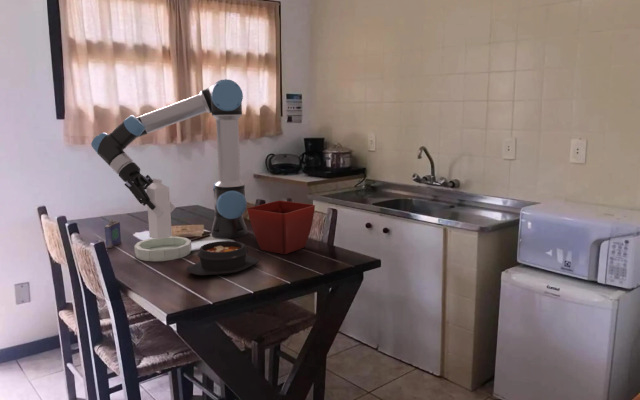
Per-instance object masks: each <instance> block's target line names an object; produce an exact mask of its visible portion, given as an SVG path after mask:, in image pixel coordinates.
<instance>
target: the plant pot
mask: <svg viewBox="0 0 640 400" xmlns="http://www.w3.org/2000/svg"><path fill="white" fill-rule="evenodd" d="M246 209H247V213H248V217H249V222H250V225H251V229H252V231H253V235H254V236H255V240H256V242H257V245H258V246H259V249H260V250H261V251H267V252H270V253H274V254H275V253H276V254H281V255H287V254H290V253H292V252H295V251H298V250H301V249H303V248H305V247H306V245H307V242H308V239H309V236H310V233H311V229H312V225H313V220H314V217H315V216H314V215H315V209H316V205H315V204H309V203H304V202H303V203H302V202H295V201H294V202H293V201H288V200H276V201H270V202H266V203H262V204H258V205H254V206H250V207H246Z"/></svg>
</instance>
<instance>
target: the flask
mask: <svg viewBox="0 0 640 400" xmlns="http://www.w3.org/2000/svg"><path fill="white" fill-rule="evenodd" d="M108 221H109V222H108V224H106V225H105V226H104V233H105V247H107V249H111V248H114V247H117V245H120V244H122V240H121V239H122V237H121V223H120V221H119V220H118V221H117V220H115V221H114V219H108Z"/></svg>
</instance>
